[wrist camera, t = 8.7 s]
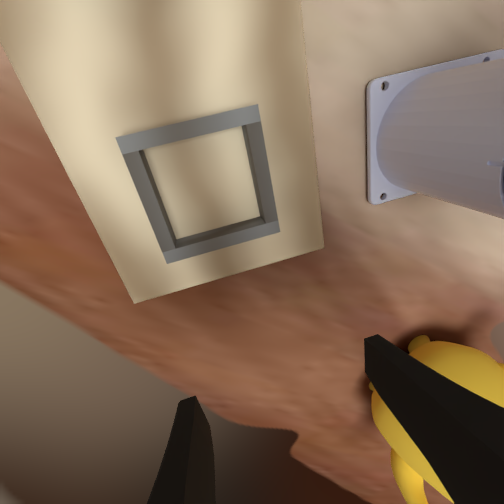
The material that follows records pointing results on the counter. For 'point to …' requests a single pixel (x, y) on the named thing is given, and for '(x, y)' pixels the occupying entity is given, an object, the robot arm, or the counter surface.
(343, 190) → the counter surface
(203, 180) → the socket board
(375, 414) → the teapot
